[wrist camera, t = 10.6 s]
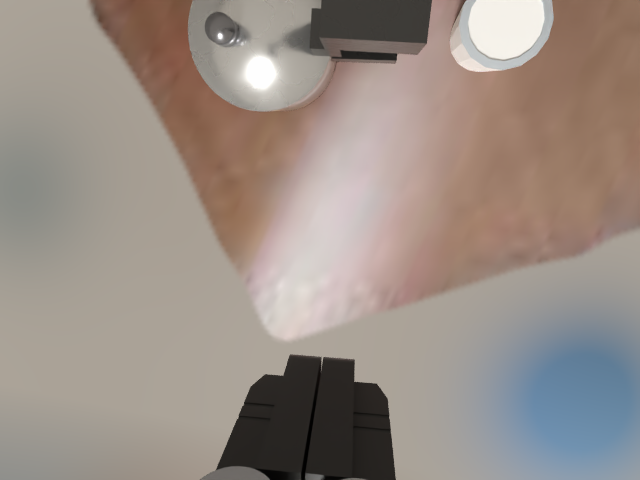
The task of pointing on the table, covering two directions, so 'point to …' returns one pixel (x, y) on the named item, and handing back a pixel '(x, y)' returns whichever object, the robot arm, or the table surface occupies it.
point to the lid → (293, 43)
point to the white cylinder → (500, 33)
